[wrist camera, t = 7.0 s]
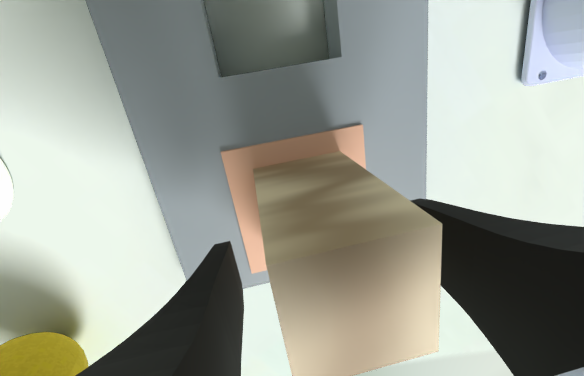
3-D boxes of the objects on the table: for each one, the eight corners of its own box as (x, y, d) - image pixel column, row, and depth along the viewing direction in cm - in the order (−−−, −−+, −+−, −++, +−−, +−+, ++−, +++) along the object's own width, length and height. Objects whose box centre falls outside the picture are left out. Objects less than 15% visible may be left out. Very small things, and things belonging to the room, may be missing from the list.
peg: (339, 150, 15) (442, 223, 7) (347, 227, 16) (438, 351, 9) (253, 168, 14) (266, 265, 7) (269, 245, 16) (295, 391, 8)
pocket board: (403, -120, 13) (433, -158, 11) (407, 229, 20) (427, 246, 18) (75, -84, 12) (40, -118, 10) (198, 278, 18) (193, 303, 16)
